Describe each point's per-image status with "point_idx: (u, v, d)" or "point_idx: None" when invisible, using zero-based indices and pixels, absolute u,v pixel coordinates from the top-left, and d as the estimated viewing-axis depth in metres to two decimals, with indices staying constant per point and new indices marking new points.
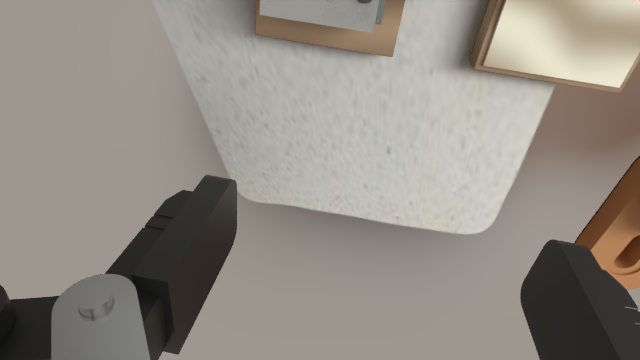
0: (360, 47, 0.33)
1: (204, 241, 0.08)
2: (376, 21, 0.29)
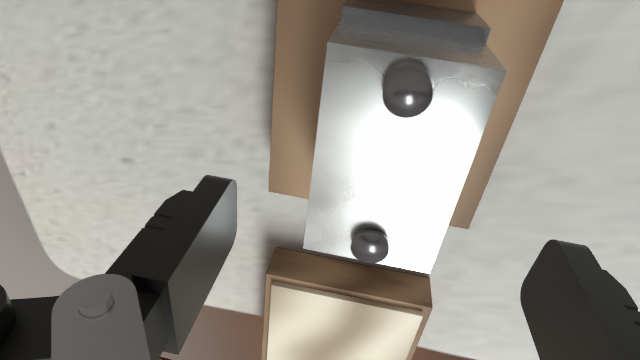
0: (277, 148, 0.20)
1: (204, 240, 0.08)
2: None
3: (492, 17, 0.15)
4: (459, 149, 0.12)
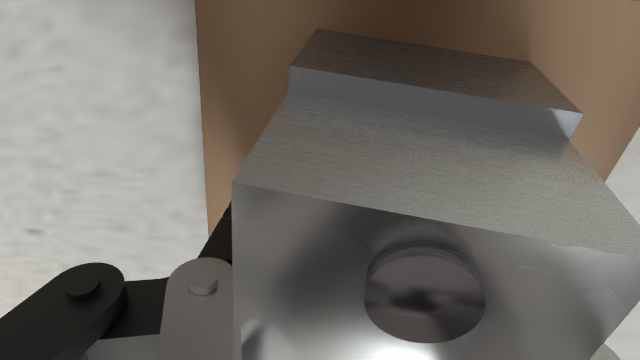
0: None
1: None
2: None
3: (559, 71, 0.09)
4: None
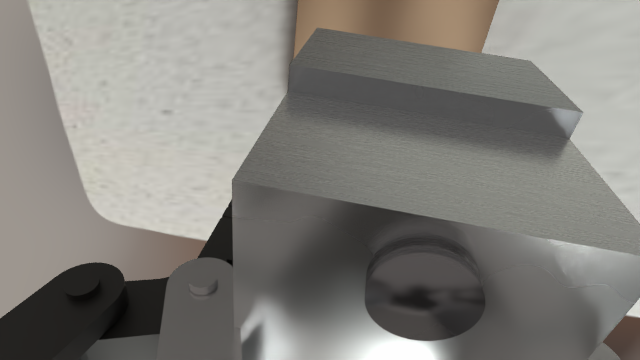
0: None
1: None
2: None
3: None
4: None
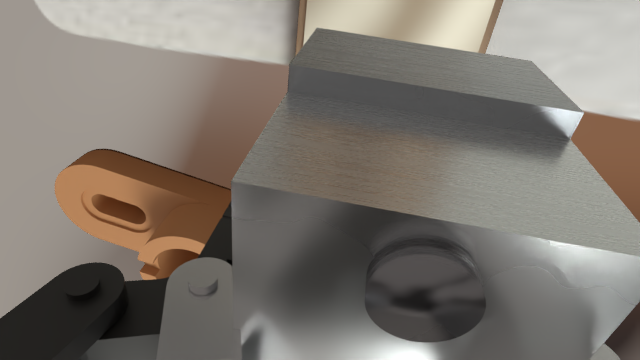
0: None
1: None
2: None
3: None
4: None
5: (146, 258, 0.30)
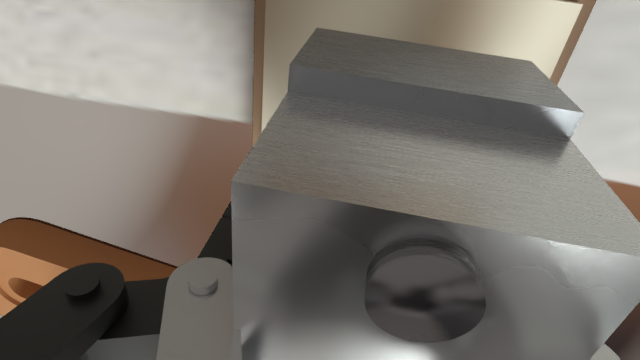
0: None
1: None
2: None
3: None
4: None
5: None
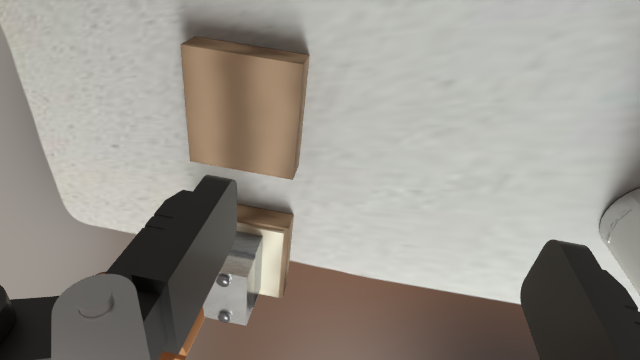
0: (191, 137, 0.40)
1: (204, 240, 0.08)
2: None
3: (276, 78, 0.35)
4: (242, 293, 0.42)
5: None
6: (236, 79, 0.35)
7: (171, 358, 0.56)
